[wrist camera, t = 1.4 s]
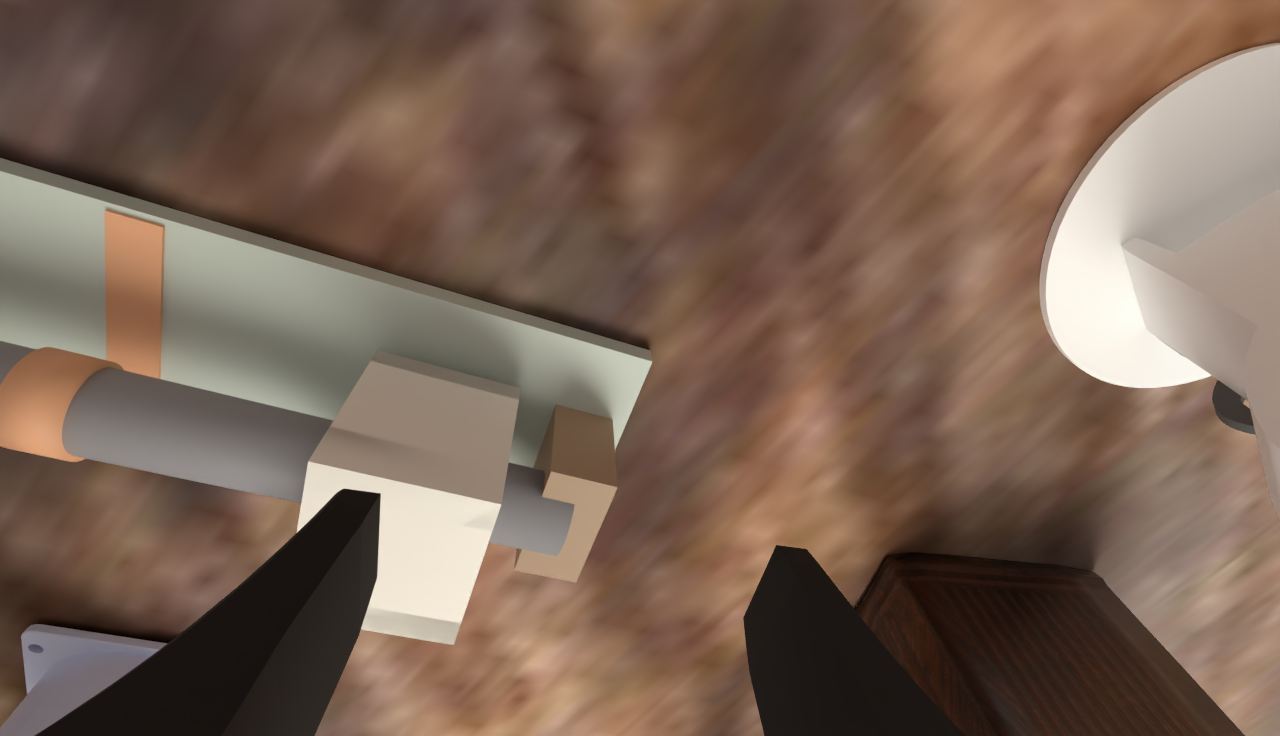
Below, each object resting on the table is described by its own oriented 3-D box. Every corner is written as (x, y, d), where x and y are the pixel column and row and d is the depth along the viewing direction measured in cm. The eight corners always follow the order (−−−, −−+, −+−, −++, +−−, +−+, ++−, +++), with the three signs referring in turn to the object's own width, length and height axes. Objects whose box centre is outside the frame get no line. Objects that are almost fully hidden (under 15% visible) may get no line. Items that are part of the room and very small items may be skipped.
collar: (521, 388, 20) (501, 504, 15) (481, 510, 22) (453, 645, 17) (377, 349, 19) (308, 461, 14) (351, 481, 21) (283, 616, 16)
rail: (650, 350, 21) (668, 438, 17) (569, 542, 25) (566, 656, 21) (-150, 113, 16) (-431, 149, 12) (-98, 399, 20) (-294, 509, 16)
